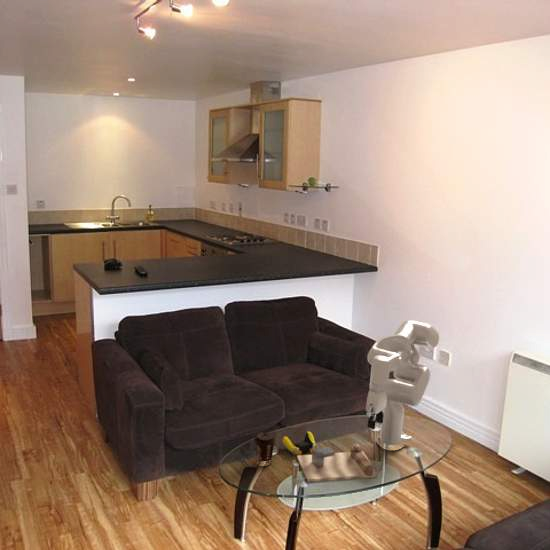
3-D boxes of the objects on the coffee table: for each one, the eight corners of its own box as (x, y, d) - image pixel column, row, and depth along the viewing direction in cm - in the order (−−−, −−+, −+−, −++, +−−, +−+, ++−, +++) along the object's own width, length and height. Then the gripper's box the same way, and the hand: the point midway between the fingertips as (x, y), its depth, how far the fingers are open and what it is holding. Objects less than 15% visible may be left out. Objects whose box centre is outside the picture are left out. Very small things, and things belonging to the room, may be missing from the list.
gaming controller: (280, 447, 272) (290, 458, 263) (281, 436, 270) (291, 447, 262) (309, 440, 278) (320, 451, 270) (310, 429, 277) (321, 440, 268)
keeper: (328, 458, 262) (329, 446, 260) (333, 464, 257) (334, 452, 256) (311, 462, 258) (312, 449, 257) (316, 468, 254) (317, 455, 252)
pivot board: (363, 453, 269) (364, 440, 267) (377, 476, 252) (378, 462, 250) (297, 458, 263) (297, 444, 261) (307, 482, 246) (308, 467, 244)
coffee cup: (262, 455, 264) (263, 428, 261) (277, 462, 259) (279, 434, 256) (249, 463, 257) (250, 436, 254) (265, 470, 253) (267, 442, 249)
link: (348, 453, 265) (349, 447, 265) (358, 452, 267) (358, 446, 266) (365, 476, 249) (366, 470, 248) (375, 475, 250) (376, 468, 249)
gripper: (380, 376, 259) (377, 414, 264) (360, 389, 246) (356, 429, 250) (396, 381, 255) (392, 420, 259) (376, 395, 241) (373, 435, 246)
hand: (375, 424), depth 255 cm, fingers open, 6 cm apart
